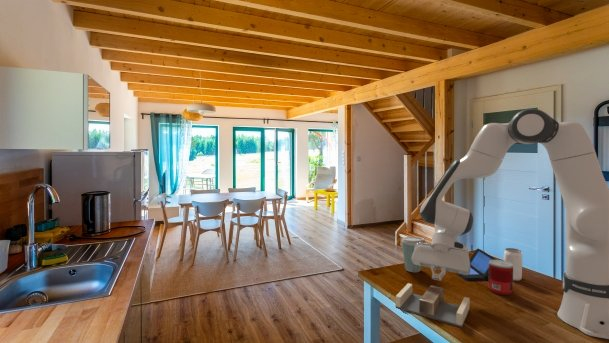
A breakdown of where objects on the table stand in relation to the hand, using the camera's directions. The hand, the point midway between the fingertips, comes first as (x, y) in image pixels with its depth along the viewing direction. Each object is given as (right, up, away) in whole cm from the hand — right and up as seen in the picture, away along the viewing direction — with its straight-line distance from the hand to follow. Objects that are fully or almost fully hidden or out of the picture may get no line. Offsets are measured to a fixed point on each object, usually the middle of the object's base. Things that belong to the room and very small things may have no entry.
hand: (436, 279), depth 113 cm
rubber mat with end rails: (-4, -8, -5) cm, 11 cm away
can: (+41, -6, +19) cm, 45 cm away
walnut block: (+1, -5, +1) cm, 5 cm away
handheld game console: (+26, -6, +25) cm, 37 cm away
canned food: (+28, -7, +8) cm, 30 cm away
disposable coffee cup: (+2, -6, +30) cm, 30 cm away
